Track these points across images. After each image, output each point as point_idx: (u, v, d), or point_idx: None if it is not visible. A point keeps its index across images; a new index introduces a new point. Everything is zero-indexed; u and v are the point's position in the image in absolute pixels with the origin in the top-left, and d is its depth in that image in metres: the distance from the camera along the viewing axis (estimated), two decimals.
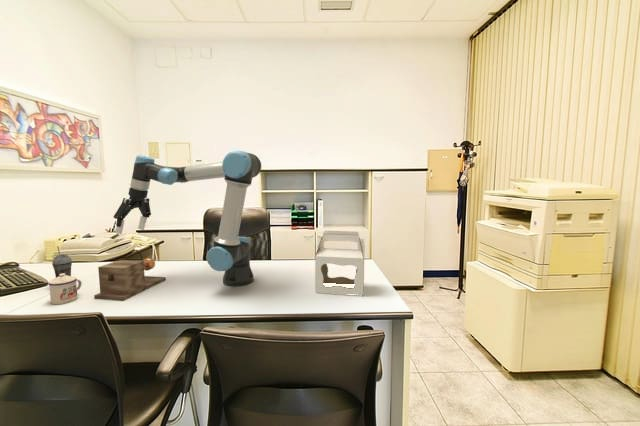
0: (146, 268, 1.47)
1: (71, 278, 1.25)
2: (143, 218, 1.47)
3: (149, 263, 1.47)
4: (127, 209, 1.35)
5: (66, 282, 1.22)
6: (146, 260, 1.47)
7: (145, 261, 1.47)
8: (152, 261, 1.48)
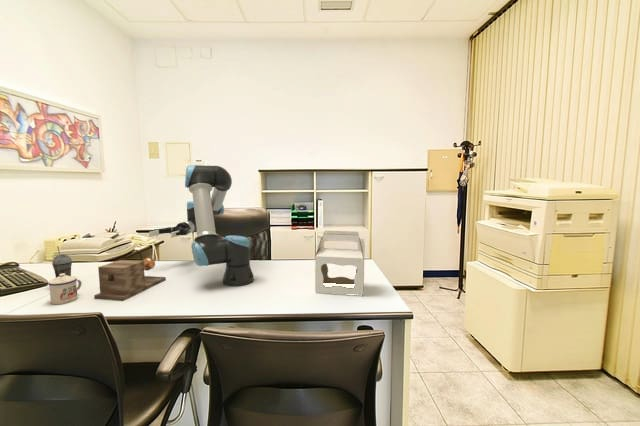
0: (146, 268, 1.47)
1: (71, 278, 1.25)
2: None
3: (149, 263, 1.47)
4: None
5: (66, 282, 1.22)
6: (146, 260, 1.47)
7: (145, 261, 1.47)
8: (152, 261, 1.48)
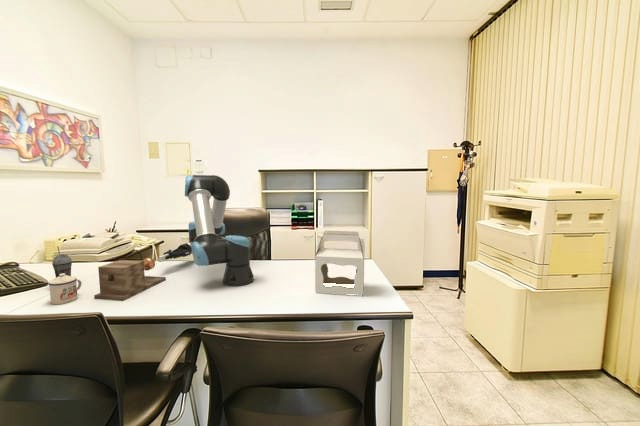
0: (146, 268, 1.47)
1: (71, 278, 1.25)
2: None
3: (149, 263, 1.47)
4: None
5: (66, 282, 1.22)
6: (146, 260, 1.47)
7: (145, 261, 1.47)
8: (152, 261, 1.48)
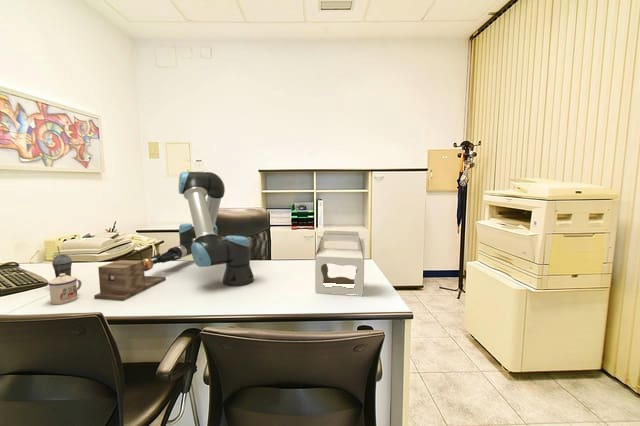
0: (144, 269, 1.46)
1: (71, 278, 1.25)
2: None
3: (147, 264, 1.45)
4: None
5: (66, 282, 1.22)
6: (144, 261, 1.46)
7: None
8: (150, 262, 1.47)
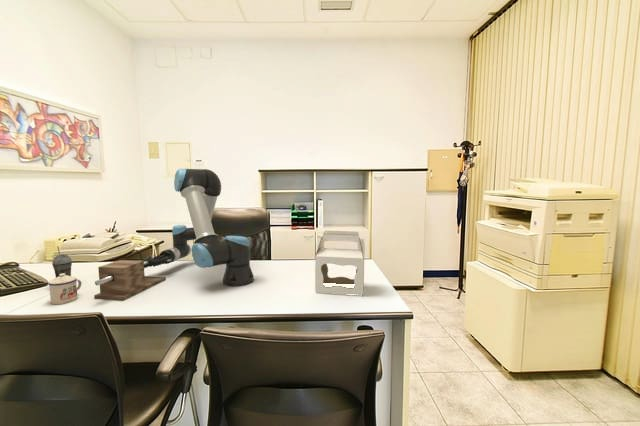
0: None
1: (71, 278, 1.25)
2: None
3: None
4: None
5: (66, 282, 1.22)
6: None
7: None
8: None
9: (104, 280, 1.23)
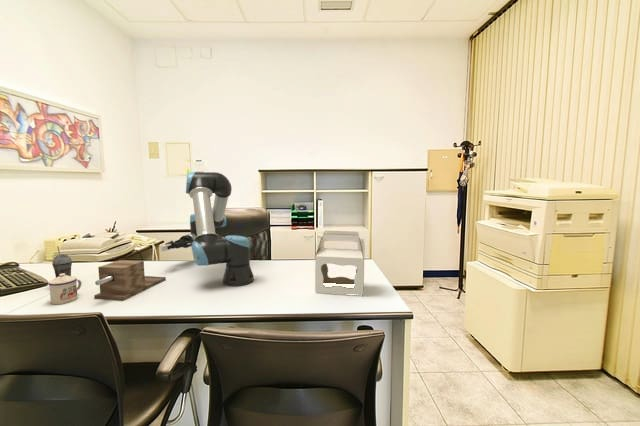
0: None
1: (71, 278, 1.25)
2: None
3: None
4: None
5: (66, 282, 1.22)
6: None
7: None
8: None
9: (104, 280, 1.23)
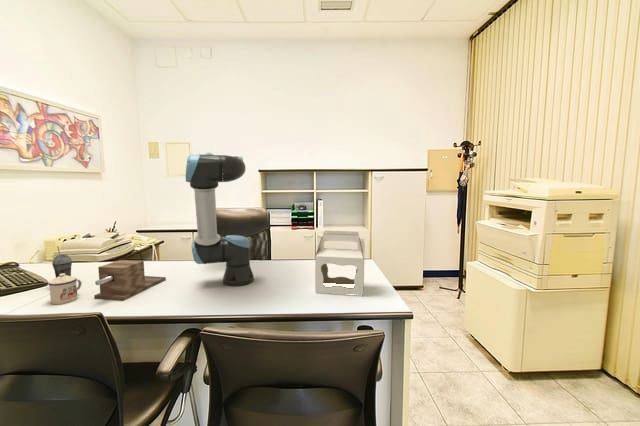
0: None
1: (71, 278, 1.25)
2: None
3: None
4: None
5: (66, 282, 1.22)
6: None
7: None
8: None
9: (104, 280, 1.23)
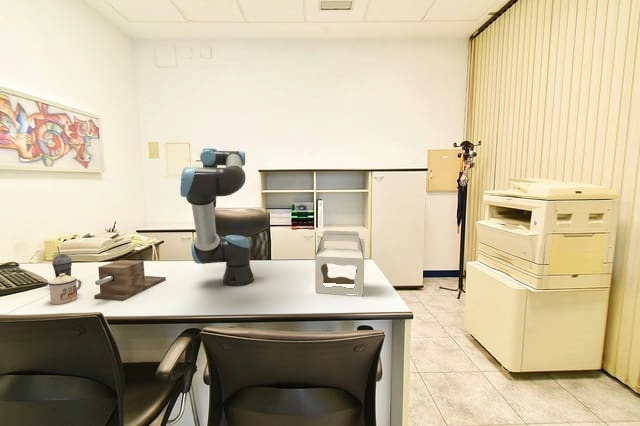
0: None
1: (71, 278, 1.25)
2: None
3: None
4: None
5: (66, 282, 1.22)
6: None
7: None
8: None
9: (104, 280, 1.23)
